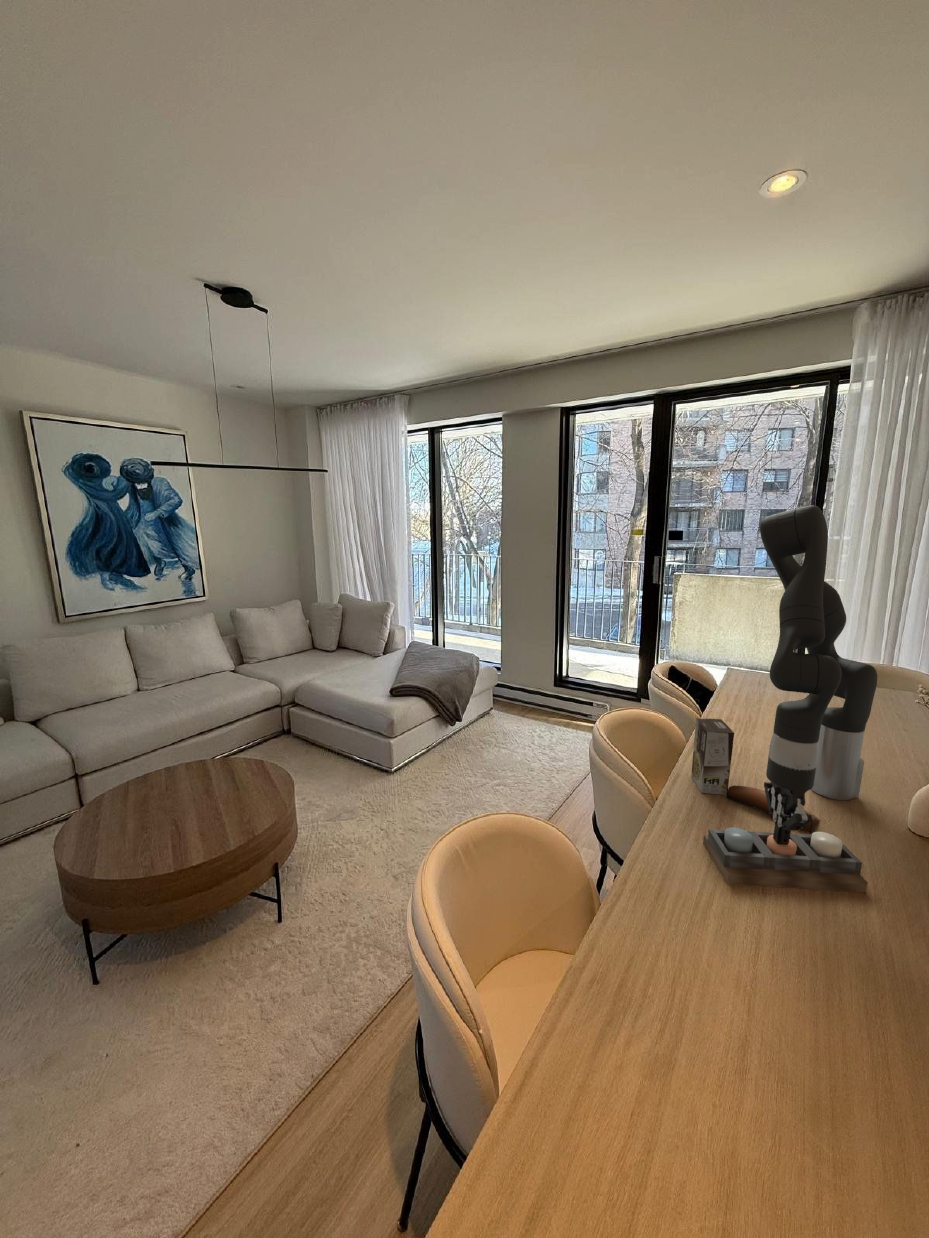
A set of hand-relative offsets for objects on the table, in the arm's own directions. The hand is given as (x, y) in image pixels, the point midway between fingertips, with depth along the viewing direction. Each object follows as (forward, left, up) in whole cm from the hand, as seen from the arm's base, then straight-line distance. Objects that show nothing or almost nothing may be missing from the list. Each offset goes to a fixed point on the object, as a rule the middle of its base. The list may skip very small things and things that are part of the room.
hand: (780, 842), depth 97 cm
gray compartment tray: (0, 0, -5) cm, 5 cm away
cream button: (-8, 0, -2) cm, 8 cm away
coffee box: (+2, -30, -5) cm, 31 cm away
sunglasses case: (-9, -20, -6) cm, 23 cm away
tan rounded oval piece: (0, 0, -3) cm, 3 cm away
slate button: (+8, 0, -2) cm, 8 cm away
